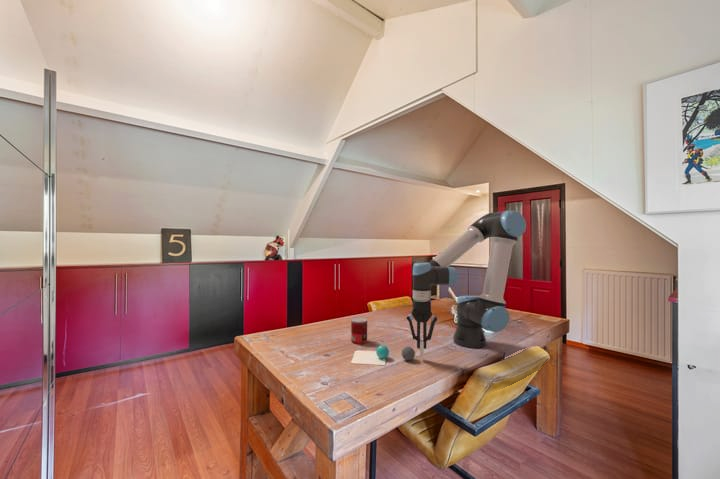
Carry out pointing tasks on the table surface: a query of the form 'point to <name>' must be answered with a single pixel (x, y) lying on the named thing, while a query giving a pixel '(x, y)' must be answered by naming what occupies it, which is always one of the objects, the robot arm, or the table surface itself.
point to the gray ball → (408, 353)
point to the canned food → (359, 330)
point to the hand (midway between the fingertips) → (421, 355)
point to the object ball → (382, 352)
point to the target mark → (367, 358)
